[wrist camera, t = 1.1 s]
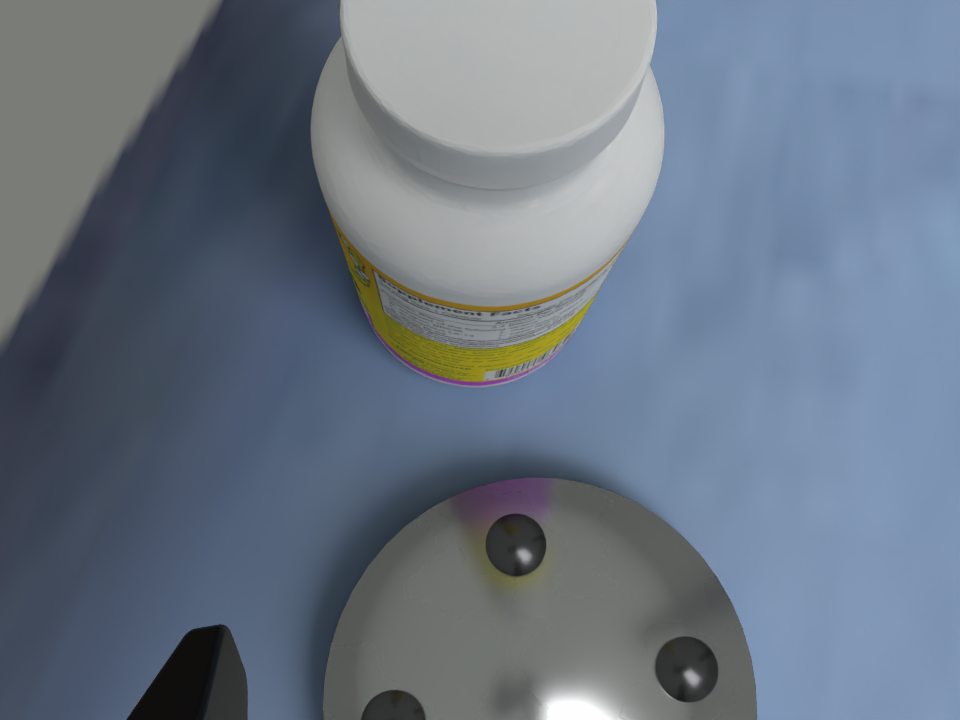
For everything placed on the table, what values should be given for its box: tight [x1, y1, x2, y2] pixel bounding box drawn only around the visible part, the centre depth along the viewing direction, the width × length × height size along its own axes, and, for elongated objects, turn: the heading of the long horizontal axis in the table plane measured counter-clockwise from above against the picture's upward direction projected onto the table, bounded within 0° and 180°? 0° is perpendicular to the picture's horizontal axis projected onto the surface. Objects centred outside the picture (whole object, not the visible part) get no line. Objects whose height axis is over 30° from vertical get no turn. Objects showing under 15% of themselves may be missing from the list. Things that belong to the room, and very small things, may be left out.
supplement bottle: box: [311, 0, 664, 388], centre depth 18 cm, size 7×7×13 cm
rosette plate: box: [323, 478, 757, 720], centre depth 22 cm, size 11×11×1 cm
